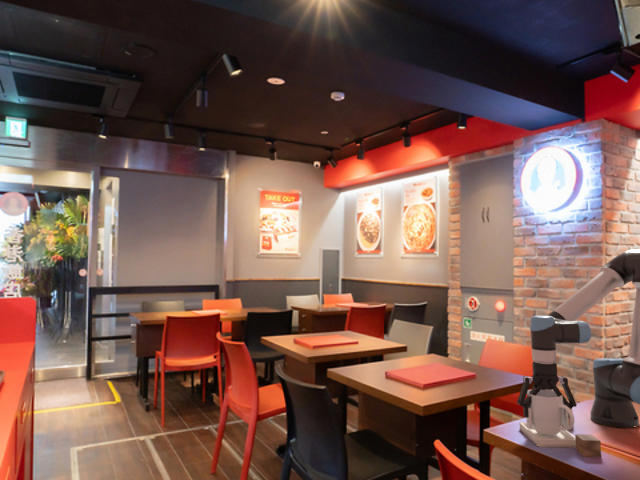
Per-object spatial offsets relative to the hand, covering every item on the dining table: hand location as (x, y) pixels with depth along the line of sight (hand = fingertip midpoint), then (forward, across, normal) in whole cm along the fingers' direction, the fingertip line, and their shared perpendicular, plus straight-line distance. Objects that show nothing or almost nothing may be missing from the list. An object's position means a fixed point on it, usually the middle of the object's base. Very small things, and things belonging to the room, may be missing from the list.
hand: (547, 427), depth 150 cm
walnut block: (+4, -7, +12) cm, 15 cm away
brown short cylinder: (+4, -11, -12) cm, 17 cm away
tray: (+3, 0, 0) cm, 3 cm away
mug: (+2, -1, 0) cm, 2 cm away
